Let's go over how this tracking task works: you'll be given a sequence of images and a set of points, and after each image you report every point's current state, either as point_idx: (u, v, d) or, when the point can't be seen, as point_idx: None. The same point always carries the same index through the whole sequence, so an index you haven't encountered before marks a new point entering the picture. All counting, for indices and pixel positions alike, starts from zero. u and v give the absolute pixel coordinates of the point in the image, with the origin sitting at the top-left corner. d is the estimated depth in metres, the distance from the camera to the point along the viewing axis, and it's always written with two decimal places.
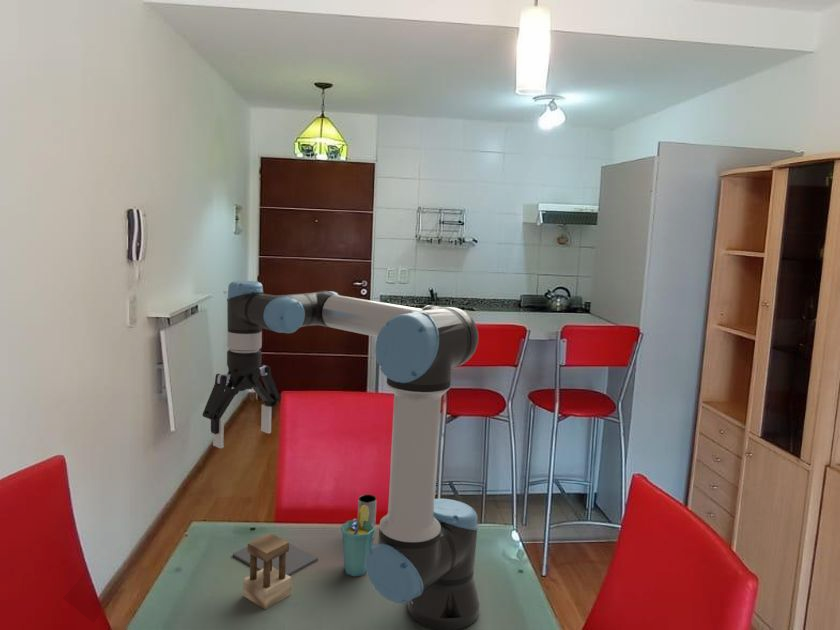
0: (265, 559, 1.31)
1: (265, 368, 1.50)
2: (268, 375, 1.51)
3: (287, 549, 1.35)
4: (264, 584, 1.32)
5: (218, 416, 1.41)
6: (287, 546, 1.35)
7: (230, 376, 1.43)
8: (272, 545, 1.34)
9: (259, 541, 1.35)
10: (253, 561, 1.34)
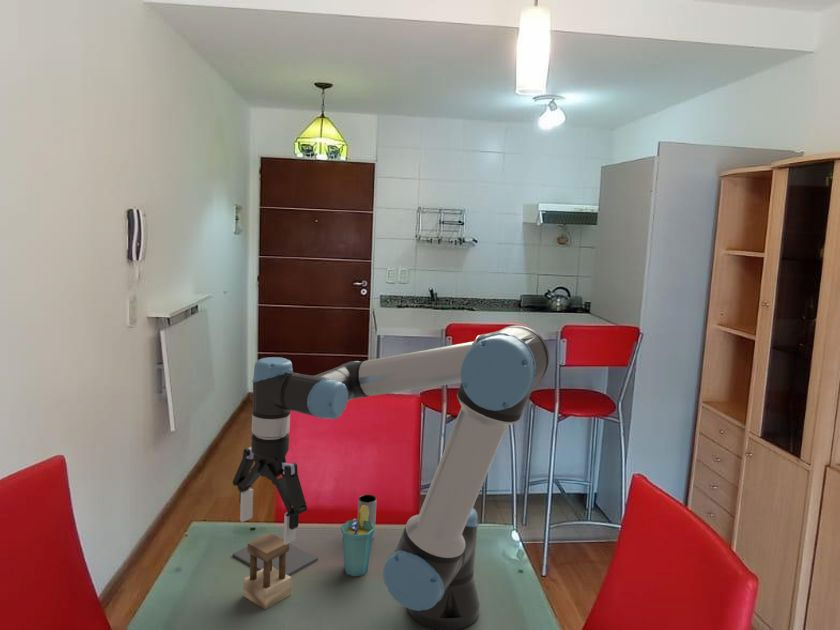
0: (265, 559, 1.31)
1: None
2: (285, 476, 1.28)
3: (287, 549, 1.35)
4: (264, 584, 1.32)
5: (239, 487, 1.37)
6: (287, 546, 1.35)
7: (253, 453, 1.34)
8: (272, 545, 1.34)
9: (259, 541, 1.35)
10: (253, 561, 1.34)
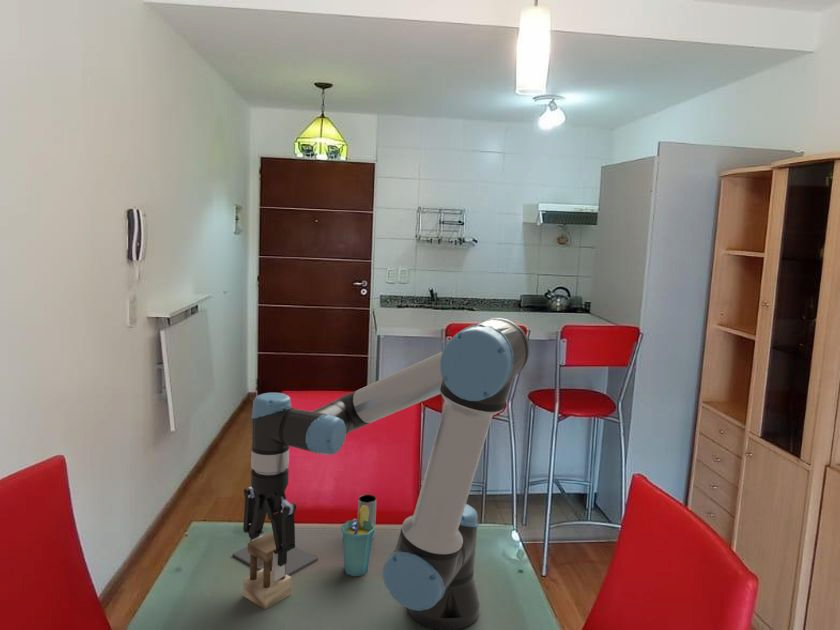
0: (265, 559, 1.31)
1: None
2: (283, 515, 1.29)
3: None
4: (264, 584, 1.32)
5: (250, 534, 1.36)
6: None
7: None
8: (272, 545, 1.34)
9: (259, 541, 1.35)
10: (253, 561, 1.34)
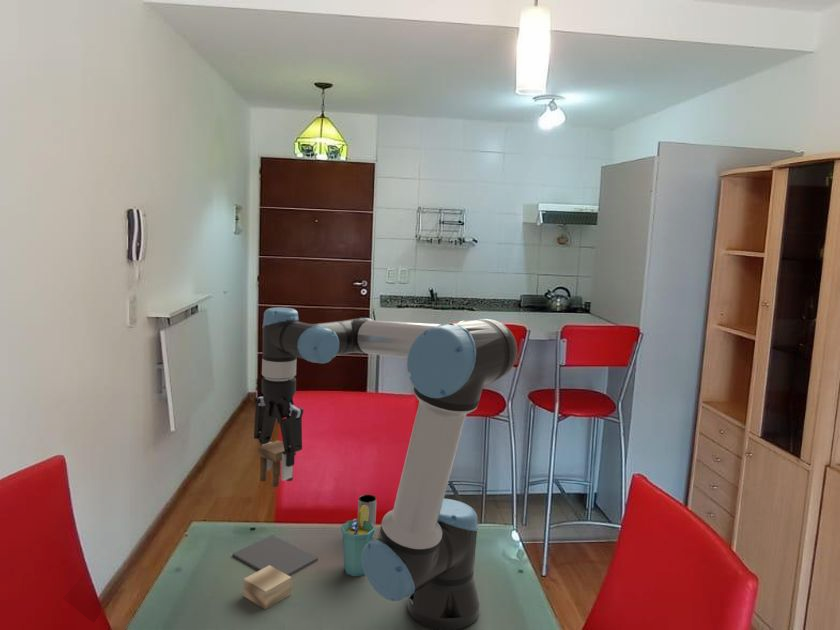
0: (274, 459, 1.43)
1: None
2: (291, 418, 1.41)
3: None
4: (273, 483, 1.44)
5: (260, 439, 1.48)
6: None
7: None
8: (280, 449, 1.45)
9: (268, 445, 1.47)
10: (263, 463, 1.46)
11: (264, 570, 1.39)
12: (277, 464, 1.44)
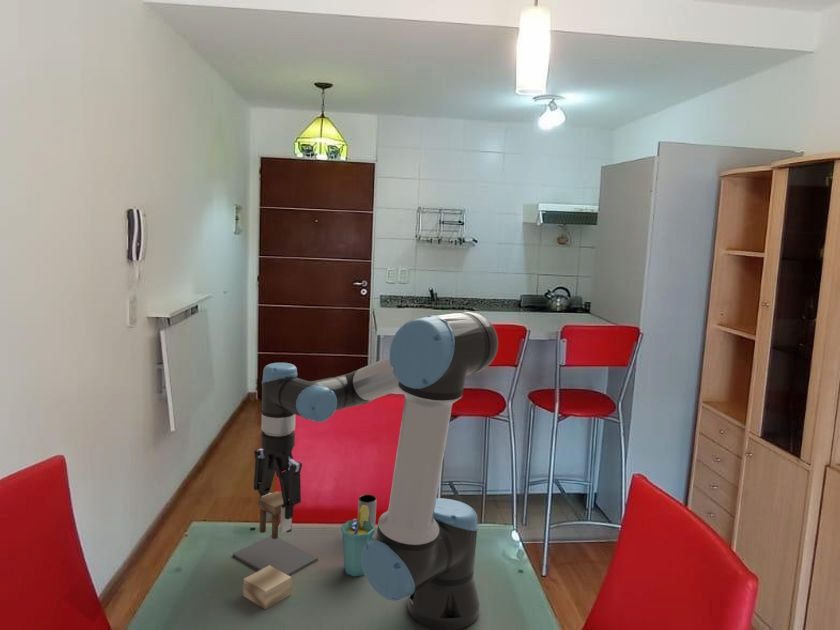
0: (274, 512, 1.45)
1: None
2: (290, 472, 1.43)
3: None
4: (272, 535, 1.47)
5: (259, 491, 1.50)
6: None
7: None
8: (279, 501, 1.48)
9: (268, 497, 1.49)
10: (262, 515, 1.48)
11: (264, 570, 1.39)
12: (276, 517, 1.46)
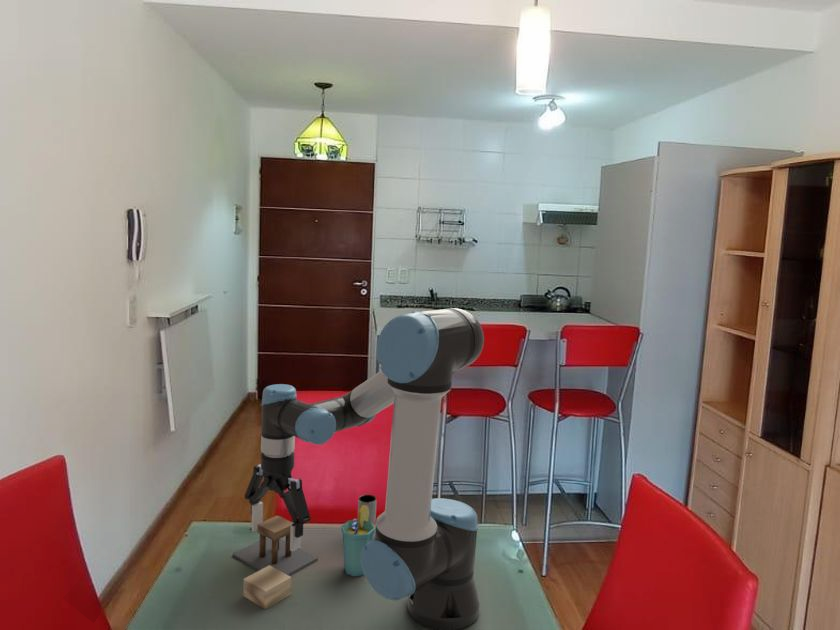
0: (273, 538, 1.46)
1: None
2: (291, 490, 1.44)
3: None
4: (272, 561, 1.47)
5: (250, 500, 1.53)
6: None
7: (263, 470, 1.50)
8: (279, 526, 1.49)
9: (267, 522, 1.50)
10: (262, 540, 1.49)
11: (264, 570, 1.39)
12: (276, 542, 1.47)
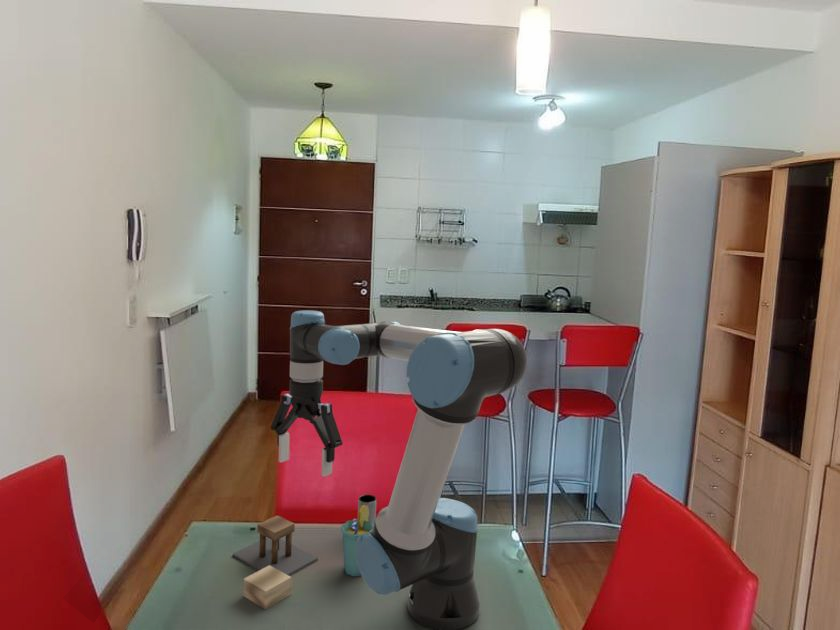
0: (273, 538, 1.46)
1: None
2: (322, 414, 1.43)
3: (293, 529, 1.50)
4: (272, 561, 1.47)
5: (277, 430, 1.52)
6: (293, 527, 1.50)
7: (290, 398, 1.49)
8: (279, 526, 1.49)
9: (267, 522, 1.50)
10: (262, 540, 1.49)
11: (264, 570, 1.39)
12: (276, 542, 1.47)
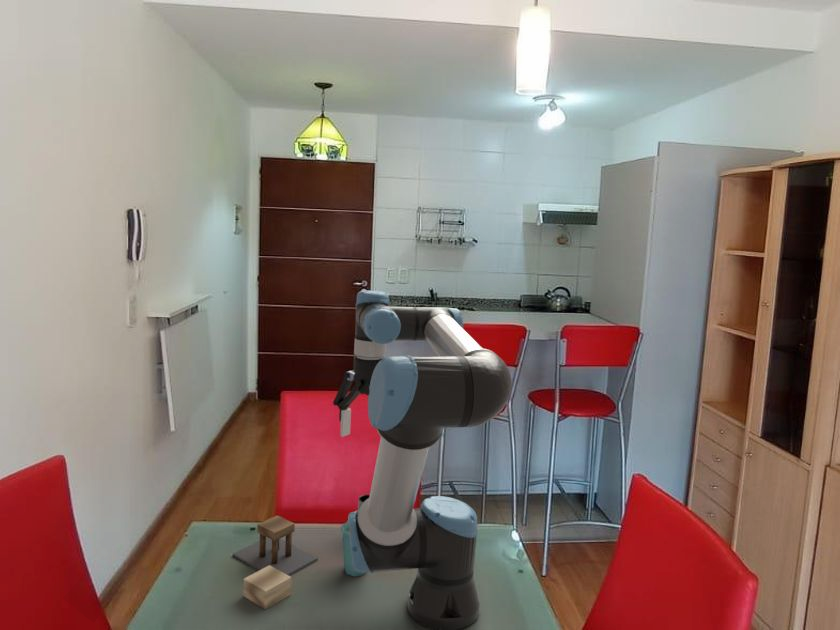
0: (273, 538, 1.46)
1: None
2: None
3: (293, 529, 1.50)
4: (272, 561, 1.47)
5: (340, 406, 1.57)
6: (293, 527, 1.50)
7: (353, 375, 1.55)
8: (279, 526, 1.49)
9: (267, 522, 1.50)
10: (262, 540, 1.49)
11: (264, 570, 1.39)
12: (276, 542, 1.47)
